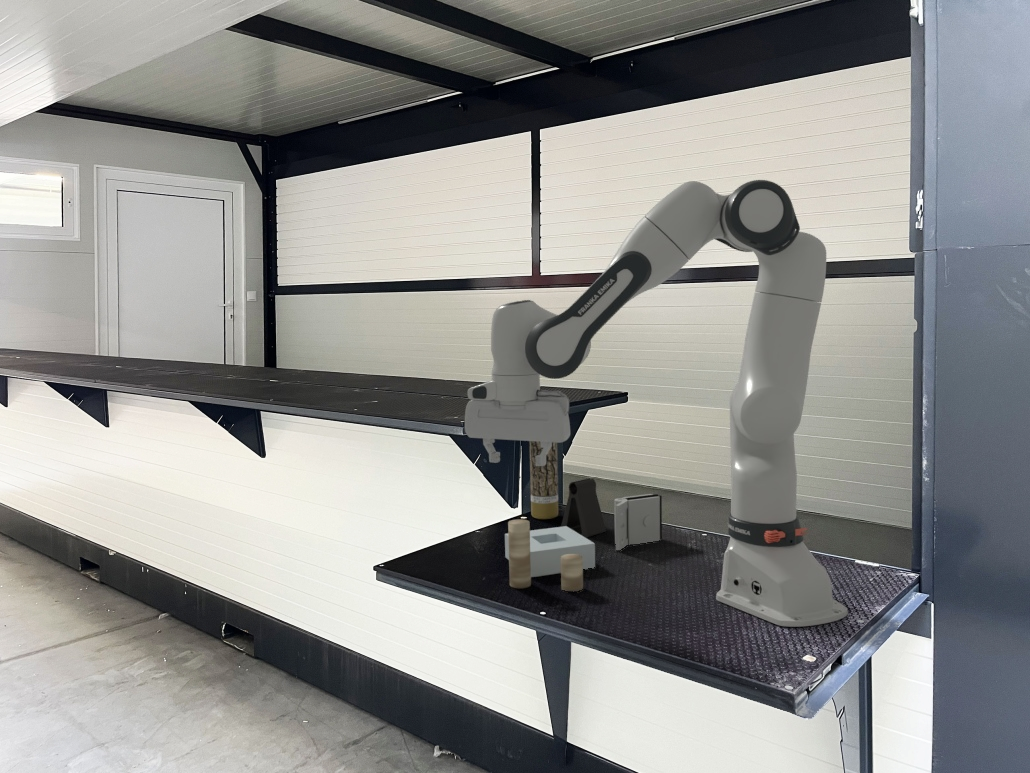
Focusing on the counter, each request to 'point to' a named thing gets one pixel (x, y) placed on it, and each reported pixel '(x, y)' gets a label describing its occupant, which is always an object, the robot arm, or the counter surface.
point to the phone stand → (583, 509)
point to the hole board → (555, 549)
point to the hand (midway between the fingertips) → (517, 463)
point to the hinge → (638, 519)
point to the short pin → (571, 572)
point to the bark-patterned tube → (544, 483)
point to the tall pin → (519, 553)
